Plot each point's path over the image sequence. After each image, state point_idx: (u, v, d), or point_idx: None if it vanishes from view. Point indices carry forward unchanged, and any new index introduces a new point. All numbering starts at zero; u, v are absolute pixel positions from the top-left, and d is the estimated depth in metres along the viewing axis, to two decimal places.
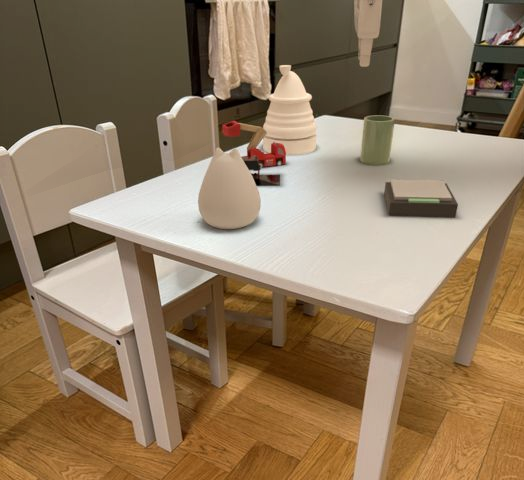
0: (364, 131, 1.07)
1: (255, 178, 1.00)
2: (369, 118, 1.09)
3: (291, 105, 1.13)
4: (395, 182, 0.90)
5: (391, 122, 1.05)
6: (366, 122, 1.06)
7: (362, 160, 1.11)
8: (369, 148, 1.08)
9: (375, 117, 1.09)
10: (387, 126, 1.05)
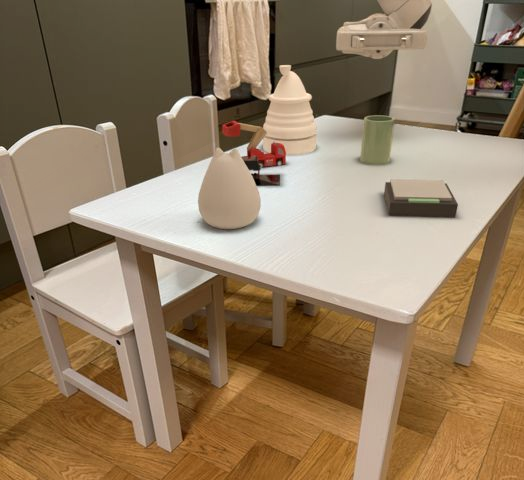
0: (364, 131, 1.07)
1: (255, 178, 1.00)
2: (369, 118, 1.09)
3: (291, 105, 1.13)
4: (395, 182, 0.90)
5: (391, 122, 1.05)
6: (366, 122, 1.06)
7: (362, 160, 1.11)
8: (369, 148, 1.08)
9: (375, 117, 1.09)
10: (387, 126, 1.05)
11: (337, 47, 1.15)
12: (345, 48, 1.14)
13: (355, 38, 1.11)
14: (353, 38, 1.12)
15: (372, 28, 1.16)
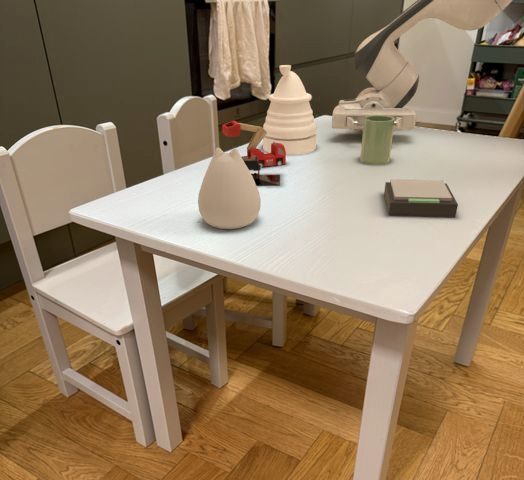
0: (364, 131, 1.07)
1: (255, 178, 1.00)
2: (369, 118, 1.09)
3: (291, 105, 1.13)
4: (395, 182, 0.90)
5: (391, 122, 1.05)
6: (366, 122, 1.06)
7: (362, 160, 1.11)
8: (369, 148, 1.08)
9: (375, 117, 1.09)
10: (387, 126, 1.05)
11: (333, 126, 1.23)
12: (340, 127, 1.23)
13: (349, 120, 1.19)
14: (347, 120, 1.20)
15: (365, 107, 1.25)
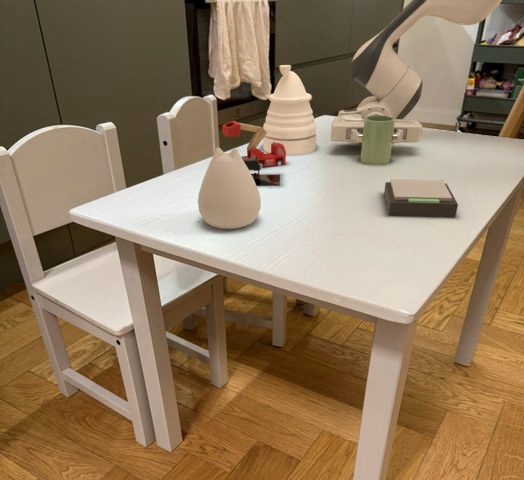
0: (364, 131, 1.07)
1: (255, 178, 1.00)
2: (369, 118, 1.09)
3: (291, 105, 1.13)
4: (395, 182, 0.90)
5: (391, 122, 1.05)
6: (366, 122, 1.06)
7: (362, 160, 1.11)
8: (369, 148, 1.08)
9: (375, 117, 1.09)
10: (387, 126, 1.05)
11: (332, 139, 1.14)
12: (340, 140, 1.14)
13: (354, 133, 1.10)
14: (352, 132, 1.11)
15: None
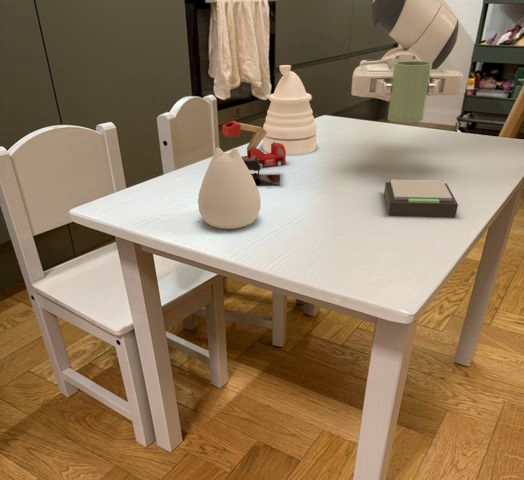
0: (394, 79, 0.88)
1: (255, 178, 1.00)
2: (400, 64, 0.89)
3: (291, 105, 1.13)
4: (395, 182, 0.90)
5: (428, 67, 0.85)
6: (397, 67, 0.86)
7: (390, 116, 0.91)
8: (400, 100, 0.88)
9: (407, 63, 0.89)
10: (423, 71, 0.85)
11: (353, 92, 0.95)
12: (363, 94, 0.94)
13: (380, 83, 0.91)
14: (378, 83, 0.91)
15: None
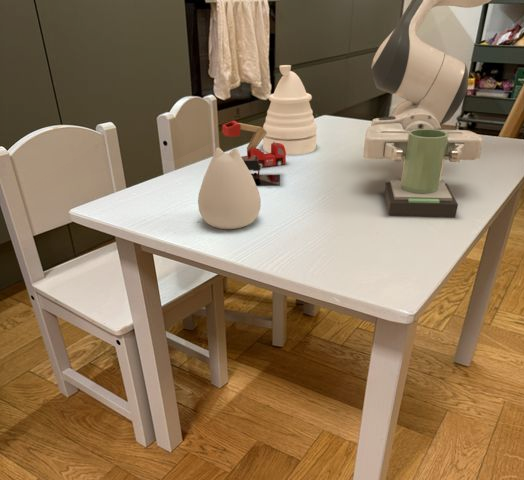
0: (408, 150, 0.83)
1: (255, 178, 1.00)
2: (414, 133, 0.84)
3: (291, 105, 1.13)
4: (395, 182, 0.90)
5: (445, 138, 0.81)
6: (412, 138, 0.82)
7: (404, 186, 0.86)
8: (415, 171, 0.84)
9: (421, 131, 0.85)
10: (440, 144, 0.81)
11: (365, 155, 0.89)
12: (376, 157, 0.89)
13: (390, 148, 0.86)
14: (387, 147, 0.86)
15: (409, 129, 0.91)
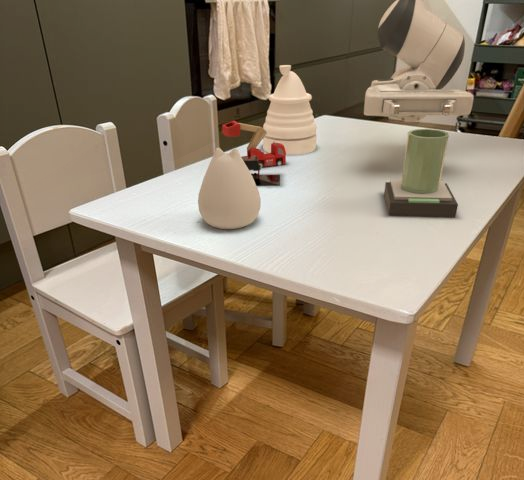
0: (408, 150, 0.83)
1: (255, 178, 1.00)
2: (414, 133, 0.84)
3: (291, 105, 1.13)
4: (395, 182, 0.90)
5: (445, 138, 0.81)
6: (412, 138, 0.82)
7: (404, 186, 0.86)
8: (415, 171, 0.84)
9: (421, 131, 0.85)
10: (440, 144, 0.81)
11: (365, 112, 0.97)
12: (375, 113, 0.96)
13: (388, 104, 0.93)
14: (385, 103, 0.94)
15: (406, 89, 0.98)
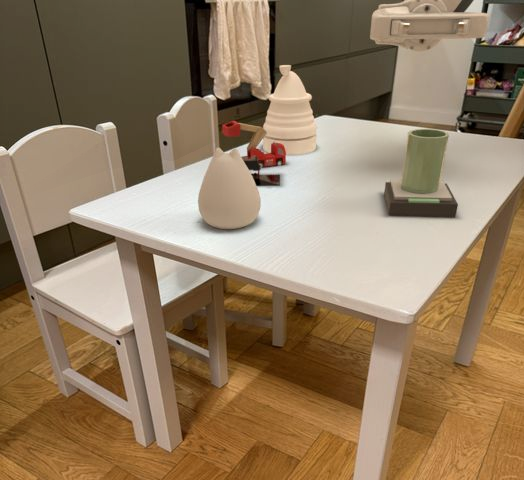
0: (408, 150, 0.83)
1: (255, 178, 1.00)
2: (414, 133, 0.84)
3: (291, 105, 1.13)
4: (395, 182, 0.90)
5: (445, 138, 0.81)
6: (412, 138, 0.82)
7: (404, 186, 0.86)
8: (415, 171, 0.84)
9: (421, 131, 0.85)
10: (440, 144, 0.81)
11: (372, 35, 0.90)
12: (382, 37, 0.89)
13: (397, 23, 0.86)
14: (394, 23, 0.87)
15: (416, 11, 0.91)
